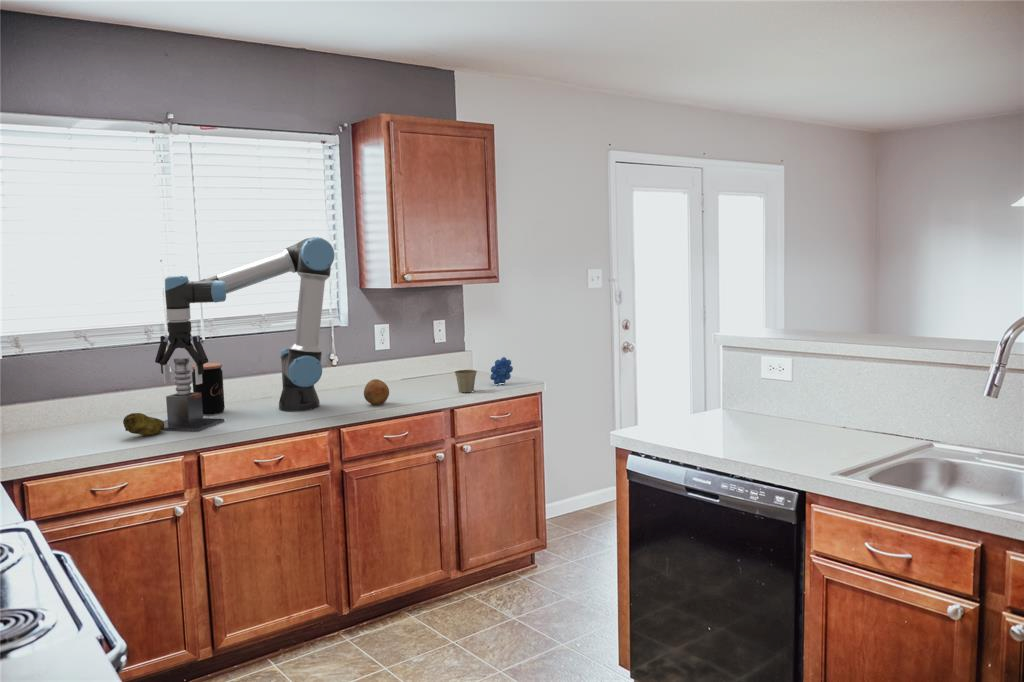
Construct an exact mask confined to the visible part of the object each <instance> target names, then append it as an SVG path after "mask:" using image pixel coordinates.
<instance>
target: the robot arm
mask: <svg viewBox="0 0 1024 682" xmlns="http://www.w3.org/2000/svg"><path fill="white" fill-rule="evenodd" d="M334 260H335V251H334V247H333V246H332V244H331V243H330V242H329V241H327V240H326V239H324V238H322V237H319V236H318V237H314V236H312V237H309V238H304V239H303V240H301V241H298V242H297V243H295V244H293V245H291V246H289V247H286V248H283V250H282V252H280V253H276V254H274V255H271V256H268V257H265V258H261V259H259V260H256V261H253V262H251V263H246V264H245V265H242V266H239V267H236V268H232V269H231V270H228V271H224V272H223V273H222V272H221V273H219V274H216V275H213V276H210V277H207V278H202V279H201V280H200V279H199V280H197V281H196V280H194V281H191V280H189V276H188V275H170V276H166V277H165V279H164V295H165V297H164V298H165V306H166V311H165V312H166V321H168V322H167V325H166V326H167V332H168V335H167V334H166V335H165V334H164V335H160V343H159V347H158V350H157V352H156V356H155V363H157V364H159V365H160V370H161V371H160V372H161V374H162V375H163V384H164V385H167V384H170V383H171V381H172V380H171V365H170V363H169V360H170V359H171V357H172V355H174V353H175V350H176V349H184V350H185V351H186V352H187V353H188V354H189V355H190V357H191V358H192V360H193V361H194V362H195V365H196V366H195V378H196V385H198V384H202V374H203V373H204V369H203V365H204V364H205V363H209V358H208V355H207V353H206V351H205V349H204V347H203V344H202V341H201V336H200V335H192V322H191V321H190V320H191V304H196V303H197V304H199V303H201V304H202V303H203V304H204V303H205V304H207V303H223V302H225V301H226V300H227V294H230V293H233V292H237V291H239V290H241V289H244V288H247V287H250V286H253V285H255V284H258V283H261V282H264V281H267V280H270V279H273V278H276V277H278V276H281V275H284V274H287V273H290V272H291V273H292V274H293V273H297V275H298V276H299V277H300V281H299V282H300V283H299V292H298V293H299V294H298V300H297V301H298V303H297V311H296V312H297V313H296V322H295V332H294V341H293V342H294V343H293V344H291V345H290V346H289V348H283V349H282V350H281V351H280V360H281V361H280V362H281V379H282V390H281V393H280V397H279V402H278V409H279V410H280V411H285V412H300V411H310V410H315V409H317V408H320V406H321V404H320V403H321V402H320V399H319V396H318V393H317V390H316V388H315V385H316V384H317V383H318V382H319V380H320V379H321V378H322V375H323V365H322V354H323V353H322V352H323V351H322V349H321V348H320V347H319V341H320V333H321V321H322V315H323V313H322V312H323V305H324V304H323V303H324V294H325V283H326V281H327V280H328V279H329V278H330V277H331V267H332V264H333V263H334Z"/></svg>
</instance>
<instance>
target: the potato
mask: <svg viewBox="0 0 1024 682" xmlns="http://www.w3.org/2000/svg"><path fill="white" fill-rule="evenodd" d="M163 421H164V420H162V419H160V418H156V417H152V416H148V415H146V414H144V413H140V412H131V413H130V414H129V413H128V414H126V416H124V418H123V420H122V422H123V427H124V430H125V432H129V433H131V434H135V435H140V436H147V437H149V436H155V435H157V434H160V433H161V432H163V431H164V430H163V429H164V422H163Z"/></svg>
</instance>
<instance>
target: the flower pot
mask: <svg viewBox="0 0 1024 682" xmlns="http://www.w3.org/2000/svg"><path fill="white" fill-rule="evenodd" d="M453 373H454V375H455V377H456V381H457V388H458V393H460V392H467V393H468V392H471V393H473V392H472V391H474V392H475V382H476V381H475V380H476V376H477V373H478V370H474V369H460V370H455V371H454V372H453Z"/></svg>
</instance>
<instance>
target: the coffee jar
mask: <svg viewBox="0 0 1024 682" xmlns="http://www.w3.org/2000/svg"><path fill="white" fill-rule="evenodd" d="M195 366H196V364H193V365H191V369H192V372H191V379H192V380H191V383H192V392H199V393H202V408H203V416H211V415H217V414H218V415H219V414H221V413H223V412H224V410H225V394H224V377H223V376H224V375H223V369H222V367H223V365H222V363H219V362H208V363H205V364H204V365H203V369H204V373H203V374H202V384H198V385H196V378H195Z"/></svg>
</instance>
